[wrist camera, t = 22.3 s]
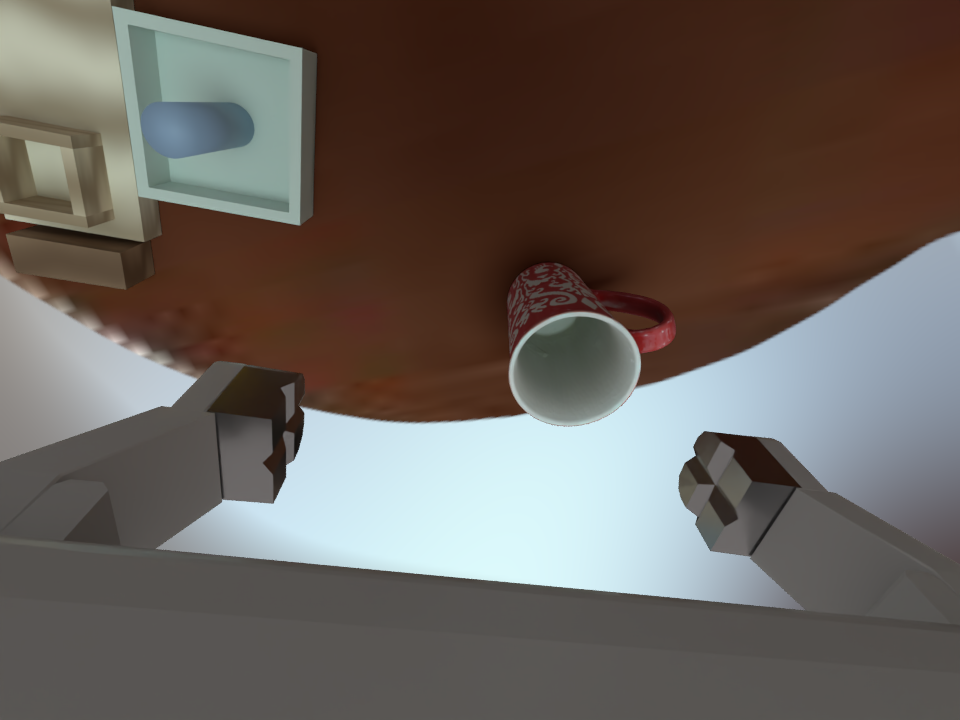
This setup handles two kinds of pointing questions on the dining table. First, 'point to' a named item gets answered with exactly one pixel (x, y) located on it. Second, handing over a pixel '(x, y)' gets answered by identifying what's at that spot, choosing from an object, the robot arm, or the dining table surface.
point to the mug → (576, 345)
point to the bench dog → (80, 256)
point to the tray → (223, 78)
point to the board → (67, 121)
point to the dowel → (195, 127)
